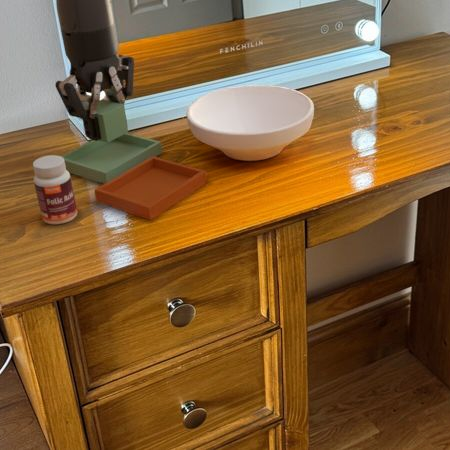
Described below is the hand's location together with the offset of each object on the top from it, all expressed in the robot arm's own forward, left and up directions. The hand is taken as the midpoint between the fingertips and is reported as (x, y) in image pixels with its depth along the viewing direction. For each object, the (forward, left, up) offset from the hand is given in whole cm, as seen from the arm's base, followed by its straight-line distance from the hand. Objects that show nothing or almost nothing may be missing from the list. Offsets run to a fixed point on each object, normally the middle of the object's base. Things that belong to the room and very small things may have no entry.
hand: (106, 132), depth 116 cm
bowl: (+14, -17, -5) cm, 23 cm away
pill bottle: (-16, -6, -5) cm, 18 cm away
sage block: (0, 0, 0) cm, 0 cm away
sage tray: (0, 0, -5) cm, 5 cm away
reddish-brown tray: (-5, -13, -5) cm, 14 cm away
